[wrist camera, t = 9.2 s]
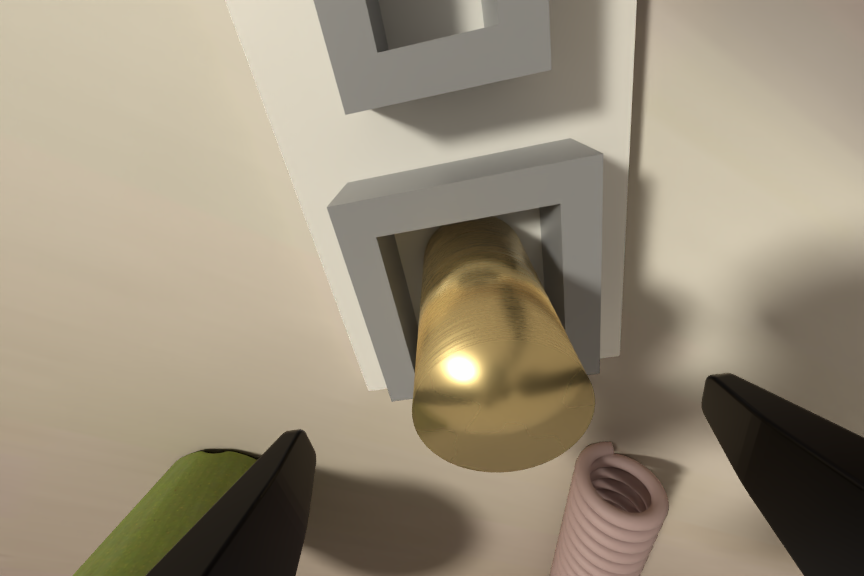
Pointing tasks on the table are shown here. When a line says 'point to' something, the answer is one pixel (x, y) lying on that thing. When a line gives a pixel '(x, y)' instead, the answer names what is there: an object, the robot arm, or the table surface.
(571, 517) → the coil
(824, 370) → the table surface
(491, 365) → the cylinder
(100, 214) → the table surface
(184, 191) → the table surface
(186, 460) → the plant pot
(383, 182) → the fitting board
